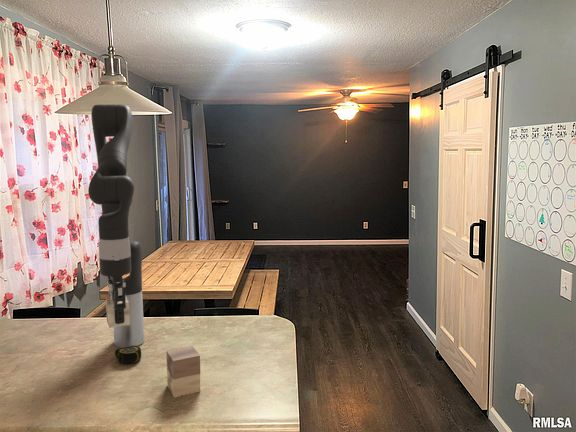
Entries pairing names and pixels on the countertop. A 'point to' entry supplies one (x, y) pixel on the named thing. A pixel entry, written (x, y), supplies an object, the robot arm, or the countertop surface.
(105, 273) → the robot arm
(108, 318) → the maple block
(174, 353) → the walnut slab
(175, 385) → the tan wooden block
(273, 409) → the countertop surface
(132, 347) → the tape measure
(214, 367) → the countertop surface
